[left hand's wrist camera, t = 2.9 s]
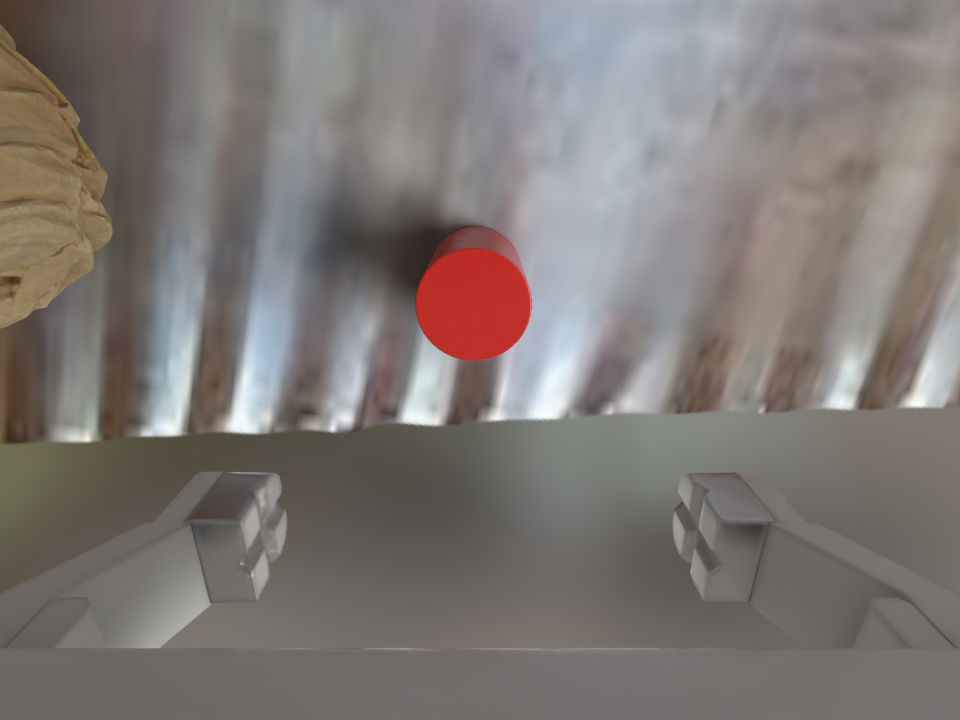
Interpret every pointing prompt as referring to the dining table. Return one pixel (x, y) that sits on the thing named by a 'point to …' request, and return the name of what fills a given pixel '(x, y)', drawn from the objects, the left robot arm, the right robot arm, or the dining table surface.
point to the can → (474, 295)
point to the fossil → (43, 190)
